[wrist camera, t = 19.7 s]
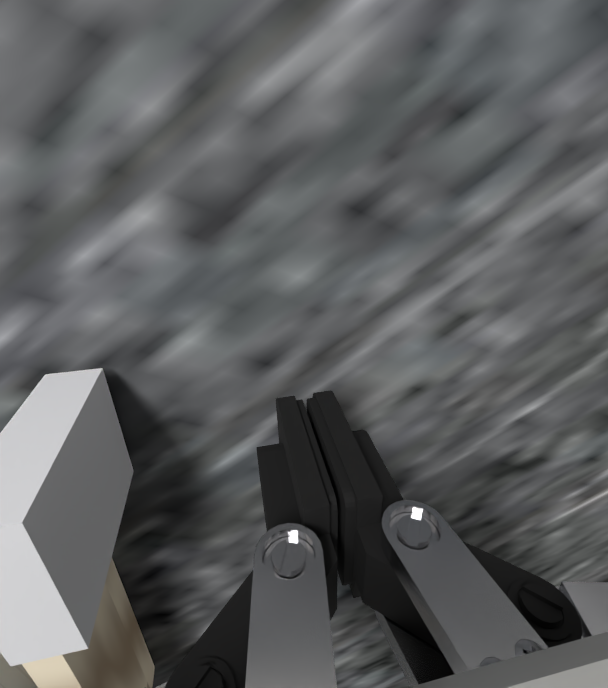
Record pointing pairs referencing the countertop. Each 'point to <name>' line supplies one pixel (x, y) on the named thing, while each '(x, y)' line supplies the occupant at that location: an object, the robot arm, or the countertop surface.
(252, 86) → the countertop surface
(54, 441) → the gate
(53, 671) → the wooden tray
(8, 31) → the countertop surface
